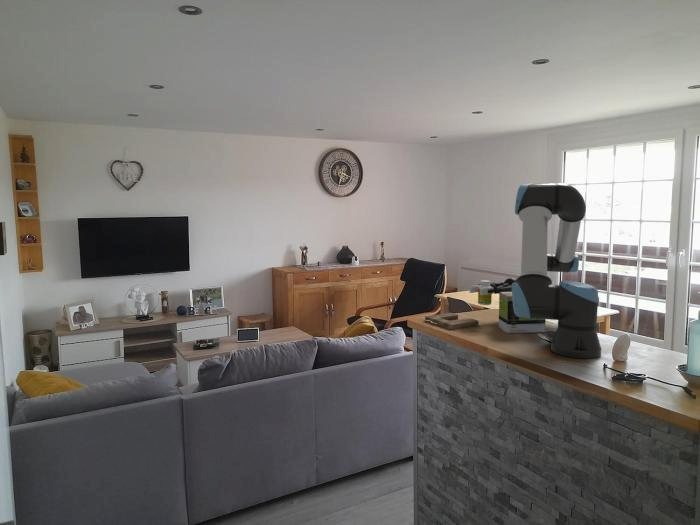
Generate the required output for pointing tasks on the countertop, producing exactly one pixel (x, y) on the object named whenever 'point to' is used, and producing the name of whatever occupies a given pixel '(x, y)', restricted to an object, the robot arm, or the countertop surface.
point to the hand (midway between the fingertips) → (475, 290)
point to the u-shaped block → (452, 321)
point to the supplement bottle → (484, 298)
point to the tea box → (516, 318)
